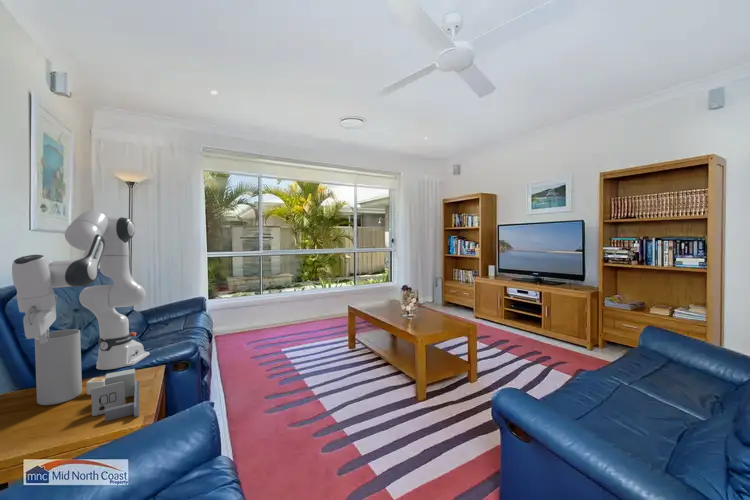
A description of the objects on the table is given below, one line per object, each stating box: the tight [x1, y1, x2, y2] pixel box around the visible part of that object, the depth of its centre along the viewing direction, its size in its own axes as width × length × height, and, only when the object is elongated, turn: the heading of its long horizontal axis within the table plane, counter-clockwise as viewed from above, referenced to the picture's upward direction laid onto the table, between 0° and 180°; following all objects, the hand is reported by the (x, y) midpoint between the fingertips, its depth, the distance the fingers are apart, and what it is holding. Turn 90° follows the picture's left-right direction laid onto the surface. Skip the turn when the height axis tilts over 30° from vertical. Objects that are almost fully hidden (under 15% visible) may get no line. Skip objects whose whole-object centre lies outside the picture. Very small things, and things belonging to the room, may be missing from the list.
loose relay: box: [85, 376, 106, 396], centre depth 131 cm, size 4×6×5 cm, turn 101°
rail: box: [133, 379, 141, 418], centre depth 123 cm, size 24×2×4 cm, turn 36°
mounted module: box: [105, 368, 136, 398], centre depth 127 cm, size 5×9×9 cm, turn 126°
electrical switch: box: [90, 382, 126, 417], centre depth 118 cm, size 9×5×9 cm, turn 134°
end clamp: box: [104, 401, 134, 422], centre depth 113 cm, size 2×8×4 cm, turn 126°
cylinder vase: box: [34, 329, 83, 406], centre depth 125 cm, size 12×12×25 cm
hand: (44, 341), depth 112 cm, fingers closed
